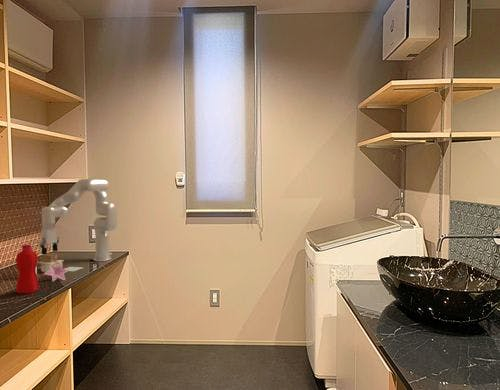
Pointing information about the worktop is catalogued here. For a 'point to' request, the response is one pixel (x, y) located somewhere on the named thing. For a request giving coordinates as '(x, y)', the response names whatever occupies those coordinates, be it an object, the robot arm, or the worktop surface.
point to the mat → (73, 268)
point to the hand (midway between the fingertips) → (49, 252)
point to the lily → (56, 272)
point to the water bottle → (27, 270)
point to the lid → (49, 259)
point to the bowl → (46, 267)
